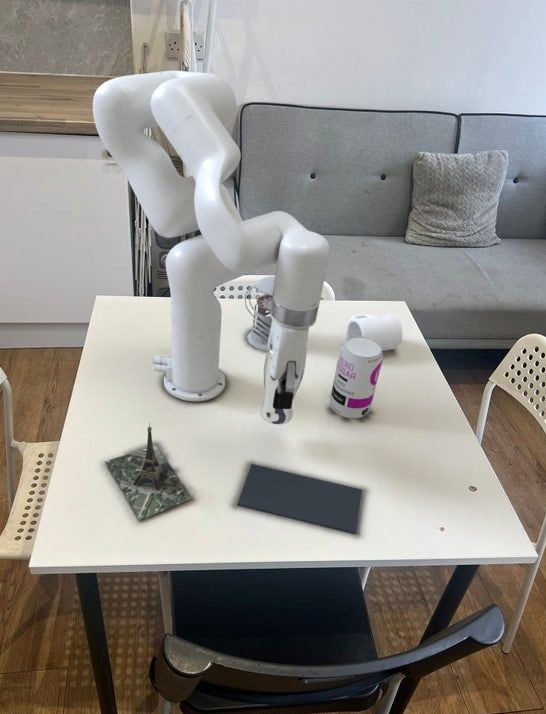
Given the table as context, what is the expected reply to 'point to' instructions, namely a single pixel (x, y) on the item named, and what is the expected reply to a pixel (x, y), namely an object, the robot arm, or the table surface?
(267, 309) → the french press
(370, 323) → the mug
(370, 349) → the supplement can
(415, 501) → the table surface
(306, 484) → the mat
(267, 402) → the beer glass
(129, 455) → the eiffel tower figurine
